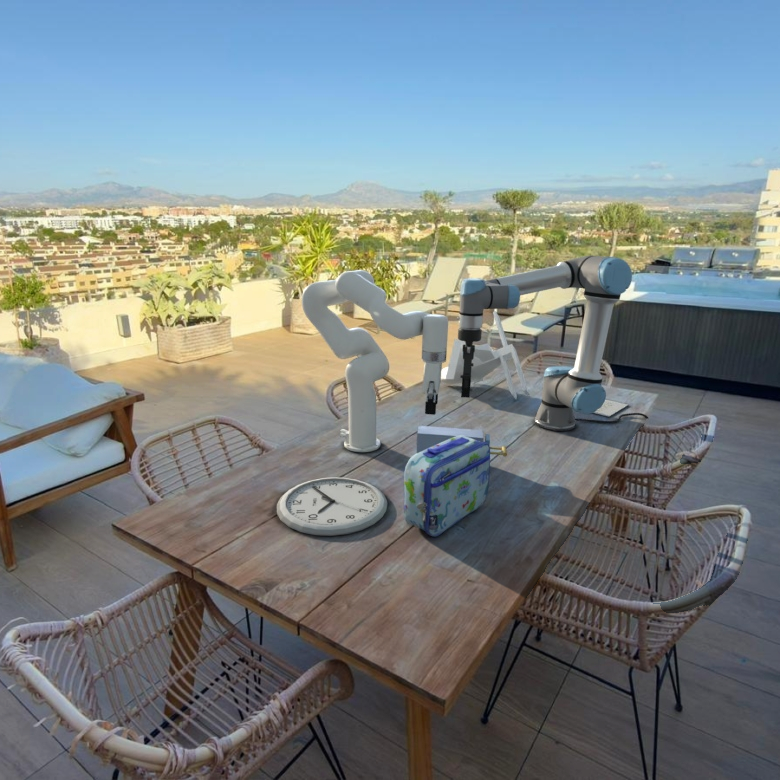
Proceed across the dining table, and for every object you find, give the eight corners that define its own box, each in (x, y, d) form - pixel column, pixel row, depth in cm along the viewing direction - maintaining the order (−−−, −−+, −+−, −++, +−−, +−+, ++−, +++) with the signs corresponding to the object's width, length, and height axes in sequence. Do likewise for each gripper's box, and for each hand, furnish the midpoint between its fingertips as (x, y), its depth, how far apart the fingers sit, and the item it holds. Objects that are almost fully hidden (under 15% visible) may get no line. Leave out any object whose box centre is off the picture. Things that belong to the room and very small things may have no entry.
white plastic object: (461, 429, 252) (437, 405, 227) (444, 352, 274) (420, 323, 250) (535, 404, 240) (518, 377, 215) (510, 326, 262) (492, 293, 237)
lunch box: (429, 545, 125) (432, 466, 119) (397, 527, 132) (398, 451, 126) (492, 507, 143) (498, 436, 136) (460, 493, 150) (465, 425, 144)
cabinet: (480, 462, 170) (483, 430, 167) (481, 471, 164) (483, 438, 161) (417, 457, 173) (419, 425, 170) (416, 466, 167) (417, 433, 163)
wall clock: (392, 527, 129) (268, 531, 127) (391, 533, 130) (269, 537, 127) (383, 473, 158) (282, 475, 155) (383, 478, 158) (282, 480, 156)
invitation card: (608, 416, 214) (573, 407, 224) (608, 416, 214) (573, 408, 224) (628, 404, 229) (594, 396, 238) (628, 405, 229) (594, 397, 238)
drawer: (504, 462, 169) (507, 435, 166) (505, 470, 163) (508, 441, 161) (427, 456, 172) (428, 429, 169) (426, 463, 167) (427, 435, 164)
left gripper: (424, 348, 167) (421, 399, 173) (419, 362, 151) (416, 417, 156) (447, 350, 166) (444, 400, 172) (445, 363, 150) (441, 419, 155)
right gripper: (459, 320, 180) (456, 379, 187) (456, 334, 157) (452, 401, 163) (481, 322, 179) (477, 381, 186) (482, 336, 156) (477, 403, 162)
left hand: (431, 408), depth 164 cm, fingers open, 9 cm apart
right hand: (465, 391), depth 174 cm, fingers open, 13 cm apart
